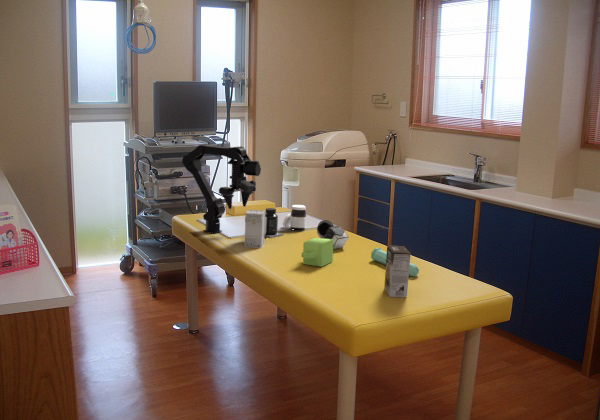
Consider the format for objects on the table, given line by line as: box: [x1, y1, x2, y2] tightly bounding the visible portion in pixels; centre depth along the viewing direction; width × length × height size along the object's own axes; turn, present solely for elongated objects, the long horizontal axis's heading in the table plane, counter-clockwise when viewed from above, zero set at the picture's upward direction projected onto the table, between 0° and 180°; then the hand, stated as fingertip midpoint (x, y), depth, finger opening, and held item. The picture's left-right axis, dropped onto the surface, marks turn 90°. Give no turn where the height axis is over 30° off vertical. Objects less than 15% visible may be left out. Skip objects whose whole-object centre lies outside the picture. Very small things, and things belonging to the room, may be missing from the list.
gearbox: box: [301, 237, 334, 267], centre depth 253 cm, size 18×10×10 cm, turn 153°
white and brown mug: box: [282, 204, 307, 231], centre depth 309 cm, size 12×11×12 cm
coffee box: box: [383, 244, 411, 298], centre depth 218 cm, size 9×6×16 cm
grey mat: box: [264, 232, 284, 239], centre depth 295 cm, size 9×9×1 cm
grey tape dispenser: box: [316, 219, 349, 250], centre depth 283 cm, size 25×10×10 cm, turn 17°
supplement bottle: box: [265, 207, 279, 235], centre depth 294 cm, size 7×7×12 cm
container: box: [370, 247, 420, 277], centre depth 249 cm, size 6×6×25 cm
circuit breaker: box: [243, 209, 267, 249], centre depth 277 cm, size 8×14×15 cm, turn 174°
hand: (237, 207), depth 289 cm, fingers open, 9 cm apart
